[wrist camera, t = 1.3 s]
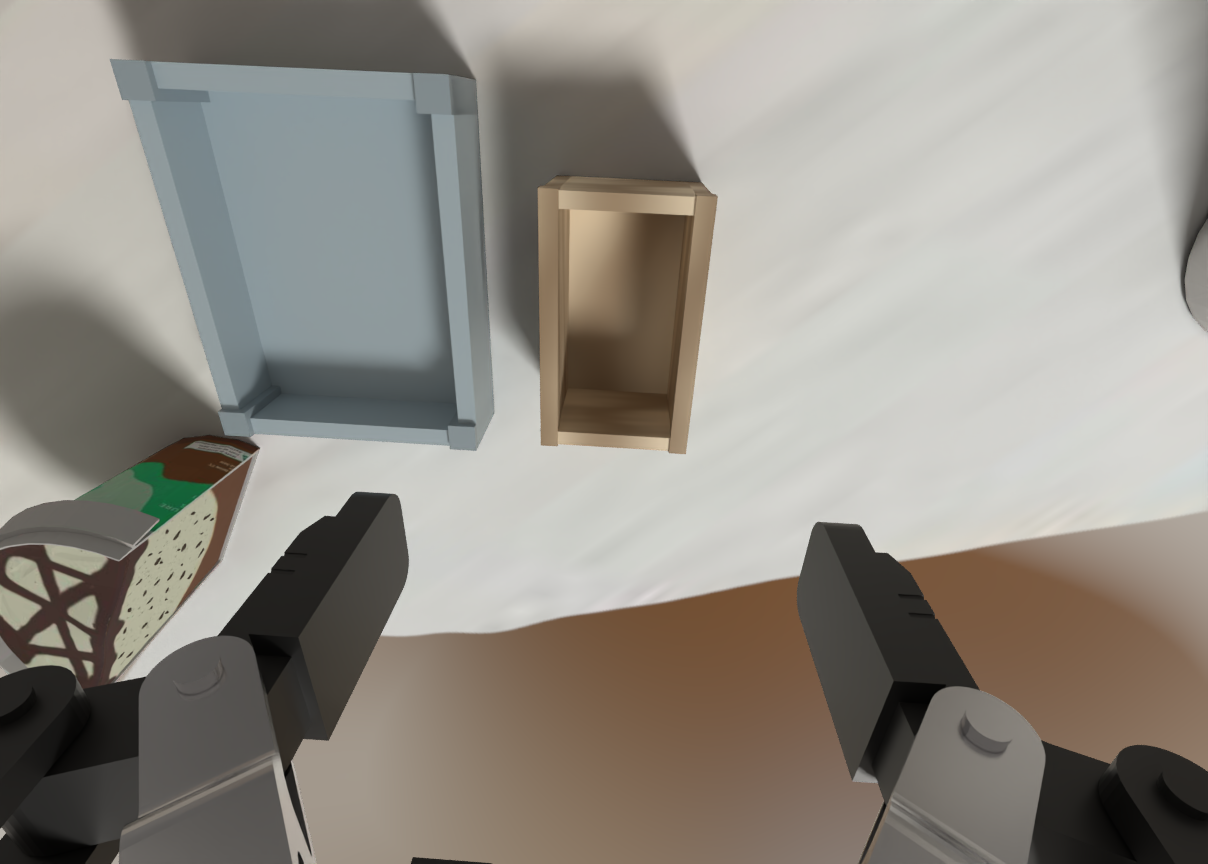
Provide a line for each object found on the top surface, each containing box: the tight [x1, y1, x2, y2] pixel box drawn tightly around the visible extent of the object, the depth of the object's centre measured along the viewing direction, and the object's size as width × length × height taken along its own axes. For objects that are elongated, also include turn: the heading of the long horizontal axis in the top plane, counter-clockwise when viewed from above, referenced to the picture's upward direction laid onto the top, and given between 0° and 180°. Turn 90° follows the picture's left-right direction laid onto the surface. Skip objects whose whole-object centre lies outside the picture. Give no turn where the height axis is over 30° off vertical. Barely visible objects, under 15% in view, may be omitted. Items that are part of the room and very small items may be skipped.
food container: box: [0, 435, 260, 689], centre depth 29 cm, size 12×6×10 cm, turn 150°
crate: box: [110, 59, 494, 451], centre depth 25 cm, size 12×15×4 cm
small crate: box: [538, 175, 718, 454], centre depth 25 cm, size 6×10×5 cm, turn 178°
